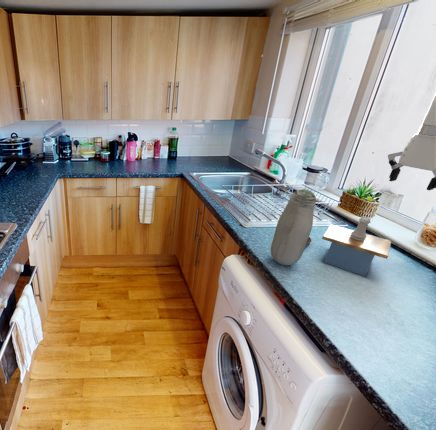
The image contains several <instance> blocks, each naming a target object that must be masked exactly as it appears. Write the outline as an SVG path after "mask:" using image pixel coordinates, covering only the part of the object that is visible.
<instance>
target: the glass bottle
mask: <svg viewBox="0 0 436 430" xmlns="http://www.w3.org/2000/svg"><path fill="white" fill-rule="evenodd" d="M316 203H317V197H316V195H315V193H314V192H313V191H311V190H309V189H304V188H303V189H297V190H295V191H294V192H292V194H291V195H290V197H289V199H288V201H287V203H286V205H285V208H284V210H283V211H282V212H281V214H280V216H279V218H278V220H277V223H276V227H275V230H274V235H273V238H272V242H271V245H270V255H271V258H272V259H273V260H274V261H275V262H276V263H277V264H279V265H283V266H292V265H294V264H296V263H298V261H300V260H301V258H302V256H303V254H304V252H305V249H306V246H307V245H306V243H307V241H308V238H309V237H310V235H311V232H312V229H313V225H314V212H315V208H316Z"/></svg>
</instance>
